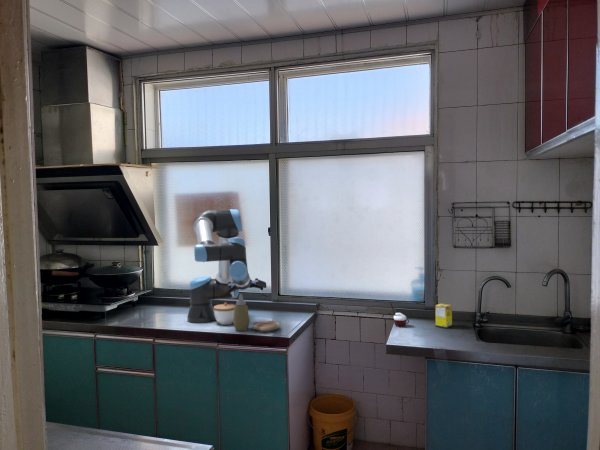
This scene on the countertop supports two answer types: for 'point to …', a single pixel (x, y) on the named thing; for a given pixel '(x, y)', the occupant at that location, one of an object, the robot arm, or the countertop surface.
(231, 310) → the lidded bowl
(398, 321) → the cocoa
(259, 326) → the tan round disc
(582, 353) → the countertop surface
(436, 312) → the supplement box
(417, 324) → the countertop surface
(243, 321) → the squeeze bottle
